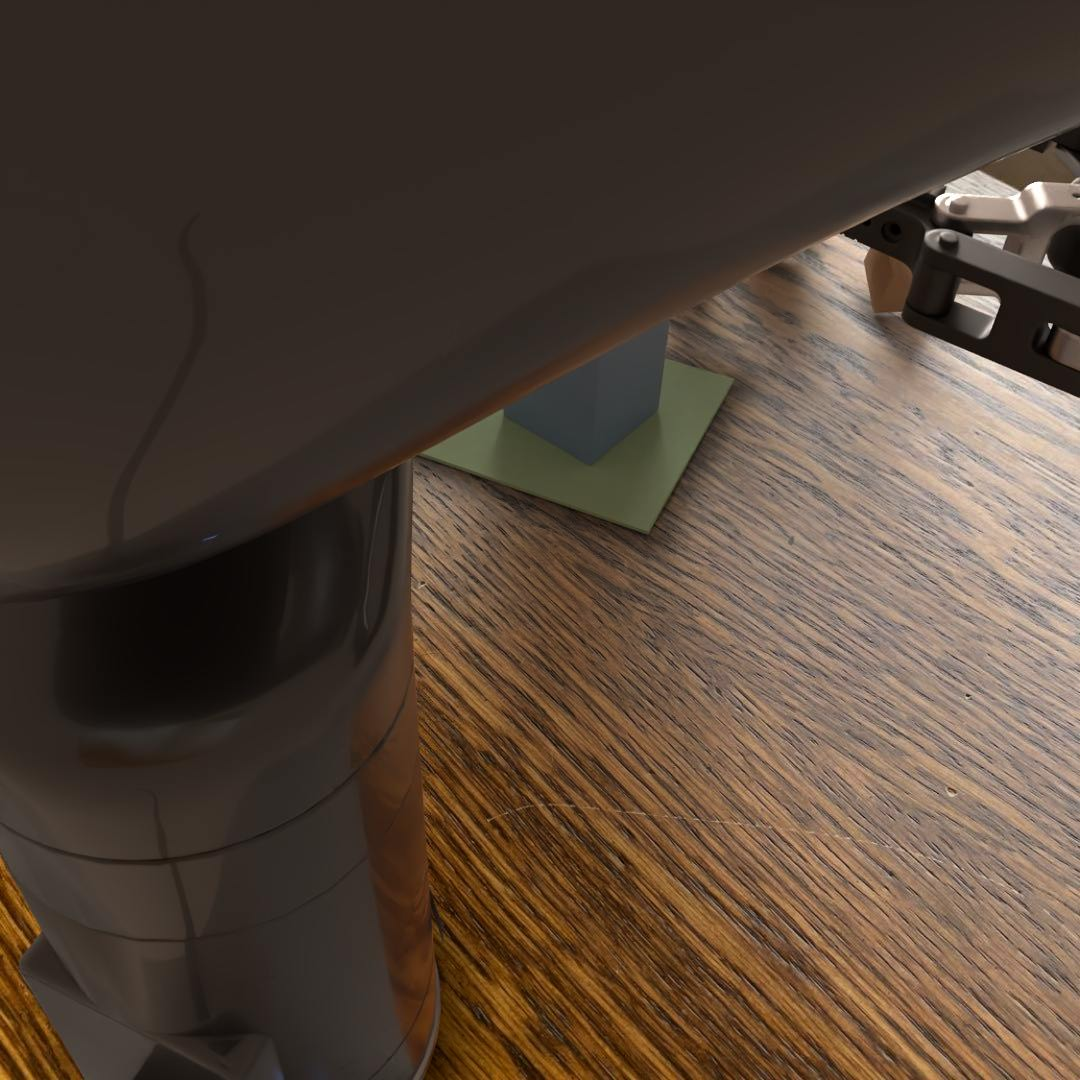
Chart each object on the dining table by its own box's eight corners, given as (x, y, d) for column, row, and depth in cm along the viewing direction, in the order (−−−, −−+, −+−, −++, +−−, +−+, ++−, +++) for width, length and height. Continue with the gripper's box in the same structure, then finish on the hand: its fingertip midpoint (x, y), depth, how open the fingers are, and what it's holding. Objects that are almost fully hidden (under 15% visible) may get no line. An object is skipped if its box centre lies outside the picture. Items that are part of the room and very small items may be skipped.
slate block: (658, 410, 57) (683, 217, 50) (590, 466, 55) (606, 271, 47) (572, 363, 59) (584, 171, 52) (502, 415, 57) (505, 221, 49)
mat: (647, 534, 52) (648, 531, 52) (412, 453, 55) (412, 450, 55) (733, 382, 59) (734, 379, 59) (520, 317, 62) (520, 314, 62)
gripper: (1593, 111, 34) (1025, -65, 40) (1465, 359, 26) (786, 89, 33) (1436, 339, 39) (958, 150, 46) (1291, 600, 31) (740, 326, 38)
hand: (887, 125), depth 39 cm, fingers open, 8 cm apart
